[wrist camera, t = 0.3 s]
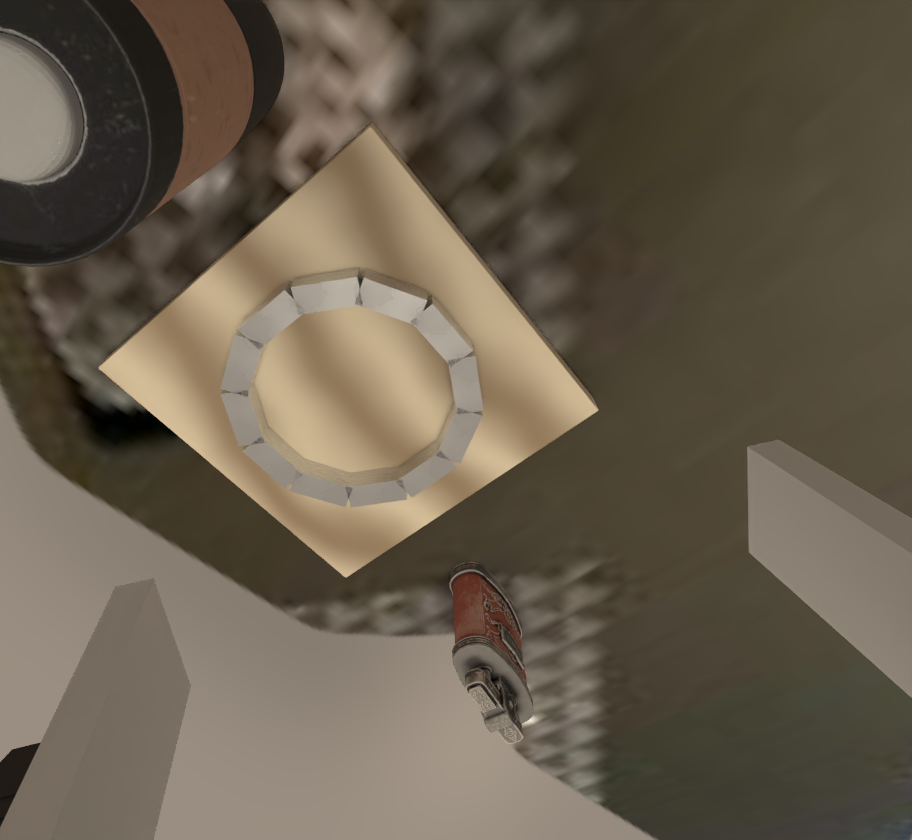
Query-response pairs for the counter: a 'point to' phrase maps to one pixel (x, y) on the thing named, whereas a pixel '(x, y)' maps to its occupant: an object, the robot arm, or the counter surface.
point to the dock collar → (381, 298)
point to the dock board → (353, 355)
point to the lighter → (490, 650)
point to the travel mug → (120, 112)
